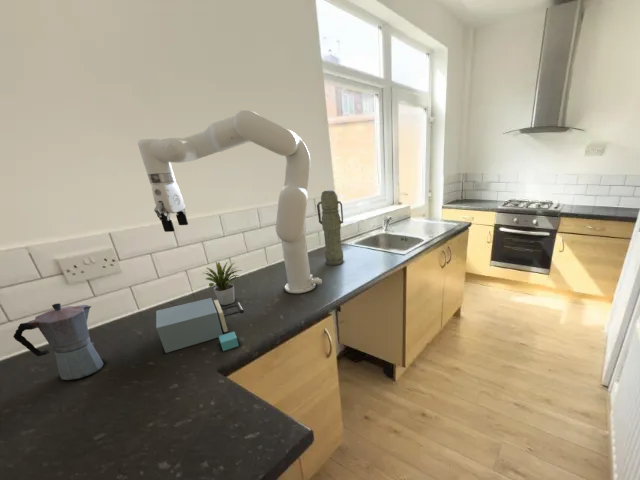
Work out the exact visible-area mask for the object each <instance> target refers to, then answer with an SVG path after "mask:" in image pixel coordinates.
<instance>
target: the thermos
mask: <svg viewBox="0 0 640 480" xmlns="http://www.w3.org/2000/svg"><path fill="white" fill-rule="evenodd" d="M336 193H337V192H336V191H334V190H323V191H322V192H321V195H320V201H318V203H317V204H316V210H317V215H318V217H317V218H318V223H319V224H320V225H322V230H323V238H324V245H325V247H324V248H325V251H324V257H325V260H326V261H325V263H326V265H327V266H339V265H341V264H343V263H344V251H343V248H342V239H341V228H342V224H344V213H343V212H344V211H343V210H344V209H343V203H342V202H341V200H338V196H337V194H336ZM338 204H339V205H340V214H339V210H338V209H339V205H338ZM320 205H321V206H320ZM321 210H322V211H321ZM321 213H322V214H321Z"/></svg>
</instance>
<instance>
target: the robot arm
mask: <svg viewBox="0 0 640 480" xmlns="http://www.w3.org/2000/svg"><path fill="white" fill-rule="evenodd" d="M248 143H253V144H255V145H257V146H260V147H261V148H264V149H265V150H268V151H270V152H272V153H274V154H277V155H278V156H282V157H285V160H286V162H285V163H286V164H285V165H286V166H285V172H284V175H285V176H284V182H283V183H284V184H283V187H282V190H281V191H280V193H279V195H278V200H277V201H278V202H277V210H276V211H277V212H276V221H275V233H276V236H277V237H278V238H279V239H280V241H281V248H282V256H283V261H284V267H285V274H286V279H287V283H286V284H285V285H284V291H285V292H287V293H289V294H303V293H307V292H310V291H312V290H314V289H315V288H316V285H321V284H323V280H322V278H320V277H313V274H311V269H310V268H311V267H310V260H309V253H308V252H309V251H308V245H307V243H308V242H307V234H306V225H305V221H306V213H307V206H308V199H309V197H308V196H309V195H308V193H309V192H308V191H309V183H310V174H311V156H310V151H309V150H308V147H307V145H306V143H305V142H304V140H303V139H302V138H301V137H300V136H298V134H296V133H295V132H294V131H292V130H291V129H289V128H286V127H284V126H282V125H280V124H278V123H276V122H273V121H271V120H270V119H268V118H266V117H264V116H262V115H260V114H258V113H257V112H255V111H253V110H250V109H242V110H239V111H238V112H237V113H236V114H235V115H234V116H231V117H228V118H225V119H222V120H219V121H214V122H212V123H211V124H209V125H208V127H207V128H205V129H204V130H203V131H201V132H198V133H195V134H192V135H189V136H185V137H168V138H167V137H166V138H161V139H158V138H145V139H144V138H143V139H139V140H138V142H137V145H138V149H139V152H140V156H141V158H142V162H143V165H144V168H145V172H146V175H147V177H148V181H149V184H150V186H151V191H152V197H153V201H154V203H155V207H154V210H153V211H154V213H155V214H156V215H157V218H159V221H160V222H161V224H162V225H161V226H162V228H163V231H164V233H170V232H172V233H173V232H175V228H174V224H173V220H172V219H171V214H175V217H176V220H177V223H178V226H188V225H189V223H188V219H187V213H186V204H185V200H184V198H183V195H182V192H181V190H180V187H179V185H178V182H177V181H176V177H175V173H174V170H173V167H172V163H176V164H177V163H178V164H179V163H188V162H193V161H196V160H199V159H202V158H205V157H208V156H212V155H213V154H216V153H222V152H224V151H228V150H230V149H233V148H235V147H238V146H239V147H240V146H241V145H245V144H248Z"/></svg>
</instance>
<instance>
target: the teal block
mask: <svg viewBox="0 0 640 480" xmlns="http://www.w3.org/2000/svg"><path fill="white" fill-rule="evenodd" d="M218 339H219V343H220V346H221V349H222V352H225V351H228V350H232V349H234V348H238V347H239V346H240V345H239V342H238V337H237V335H236V332H235V331H230V332H227V333H224V334H223V335H220V336H219V337H218Z"/></svg>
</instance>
